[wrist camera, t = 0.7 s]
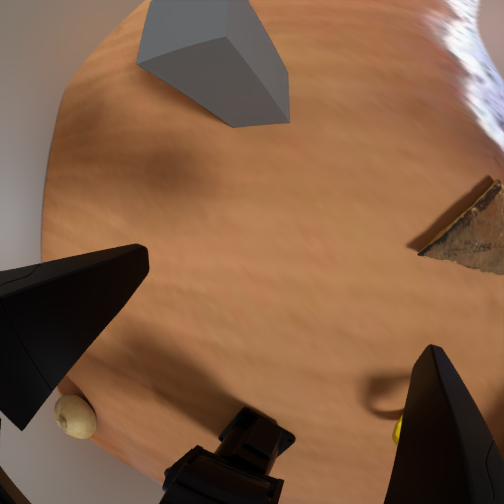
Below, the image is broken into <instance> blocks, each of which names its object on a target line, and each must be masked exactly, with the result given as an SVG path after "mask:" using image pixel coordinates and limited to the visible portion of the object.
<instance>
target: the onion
mask: <svg viewBox="0 0 504 504" xmlns="http://www.w3.org/2000/svg"><path fill="white" fill-rule="evenodd" d="M54 412H55V419H56V422H57V424H58V425H59V426H60V427H61V429H62V430H63V431H64V432H66V433H67V434H68V435H70V436H72V437H75V438H78V439H86V438H88V437H90V436H92V435H93V434H94V433H95V431H96V427H97V420H96V415H95V413H94V411H93V410H92V409H91V407H90V406H89V405H88V403H86V402H85V401H84V400H83V399H82V398H81V397H79V396H77V395H65V396H62V397H61V398H59V399H58V401H57V402H56V404H55V408H54Z"/></svg>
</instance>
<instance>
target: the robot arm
mask: <svg viewBox="0 0 504 504" xmlns="http://www.w3.org/2000/svg"><path fill="white" fill-rule="evenodd" d="M148 273H149V257H148V250H147V248H146V247H145V246H142V245H140V244H130V245H125V246H120V247H115V248H110V249H105V250H100V251H95V252H91V253H86V254H81V255H76V256H72V257H67V258H62V259H58V260H53V261H49V262H44V263H42V264H41V263H39V264H35V265H31V266H26V267H21V268H16V269H11V270H5V271H0V411H1V412H2V413H3V414H4V415H5V416H6V417H7V418H8V419H9V420H10V421H11V422H12V423H14V425H15V426H17V427H18V428H19V429H20V430H21V431H23V430H24V429H25V428H26V426H27V424H28V423H29V422H30V421H31V419H32V418H33V417H34V415H35V414H36V413H37V411H38V410H39V409H40V407H41V406H42V404H43V403H44V402H45V401H46V399H47V398H48V397H49V396H50V394H51V393H52V391H53V390H54V389H55V388H56V386H57V385H58V384H59V383H60V381H61V380H62V379H63V378H64V376H65V375H66V374H67V373H68V371H69V370H70V369H71V368H72V366H73V365H74V364H75V363H76V362H77V360H78V359H79V358H80V357H81V356H82V354H83V353H84V352H85V351H86V350H87V348H88V347H89V346H90V345H91V344H92V343H93V341H94V340H95V339H96V338H97V337H98V336H99V334H100V333H101V332H102V331H103V330H104V329H105V327H106V326H107V325H108V324H109V323H110V322H111V321H112V319H113V318H114V317H115V316H116V315H117V314H118V313H119V312H120V310H121V309H122V308H123V307H124V306H125V304H126V303H127V302H128V300H129V299H130V298H131V296H132V295H133V293H134V292H135V291H136V289H137V288H138V287H139V285H140V284H141V283H142V281H143V280H144V279H145V277H146V276H147V275H148ZM245 412H246V413H245ZM0 428H1V418H0ZM223 438H224V439H223ZM218 439H219V440H220V441H221V442H222V443H221V444H220V445H219V447H218V448H217V450H216V451H215V452H214V453H211V452H209V451H207V450H205V449H203V447H201V446H199V445H197V446H196V447H195V448H193V449H191V450H190V451H189V452H187V453H186V454H185V455H184V456H183V457H182V458H180V459H179V460H178V461H177V462H176V463H174V464H173V465H172V466H171V467H169V468H167V469H166V470H165V472H164V474H165V481H164V484H163V488H162V489H163V490H164V491H165V494H164V496H163V498H162V499H161V501H160V503H159V504H278V501H279V498H280V494H281V491H282V487H283V483H284V480H282V479H276V478H273V477H270V476H269V474H270V472H271V469H272V467H273V465H274V462H275V460H276V458H277V457H278V456H279V455H281V454H282V453H283V452H284V451H285V450H286V449H287V448H289V447H290V446H291V445H292V444H293V443H294V442H295V440H296V438H295V436H294V435H292V434H290V433H288V432H286V431H285V430H283V429H281V428H279V427H278V426H276V425H274V424H272V423H271V422H269V421H267V420H266V419H264V418H262V417H261V416H259V415H258V414H256V413H254V412H253V411H251V410H250V409H248V408H243V409H242V410H241V411H240V412H239V413H238V414H237V416H236V417H235V418H234V419H233V420H232V422H231V423H230V424H229V425H228V426H227V428H226V429H225V430H224V431H223V432H222V433H221V435H220V436H219V438H218ZM290 439H292V440H290ZM0 504H31V503H30V502H29V500H28V499H27V498H26V497H25V496H24V495H23V494H22V493H21V491H20V490H19V489H18V488H17V487H16V485H15V484H14V483H13V482H12V481H11V479H10V478H9V477H8V476H7V474H6V473H5V472H4V470H3V469H2V468H1V466H0ZM384 504H504V460H503V457H502V455H501V453H500V451H499V449H498V447H497V445H496V442H495V440H493V436H492V434H491V432H490V430H489V428H488V426H487V424H486V422H485V420H484V418H483V417H482V415H481V413H480V411H479V409H478V407H477V405H476V404H475V402H474V400H473V398H472V396H471V395H470V393H469V391H468V389H467V388H466V386H465V384H464V383H463V381H462V379H461V377H460V376H459V374H458V373H457V371H456V369H455V368H454V366H453V364H452V363H451V361H450V360H449V358H448V356H447V355H446V353H445V352H444V350H443V349H442V348H441V347H439V346H436V345H432V344H430V345H428V346H427V347H426V348H425V350H424V351H423V353H422V354H421V355H420V357H419V358H418V360H417V361H416V363H415V364H414V367H413V370H412V375H411V380H410V385H409V390H408V394H407V399H406V403H405V407H404V412H403V416H402V422H401V429H400V435H399V441H398V446H397V451H396V456H395V461H394V466H393V470H392V474H391V478H390V482H389V486H388V490H387V494H386V497H385V501H384Z"/></svg>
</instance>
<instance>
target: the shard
mask: <svg viewBox="0 0 504 504" xmlns="http://www.w3.org/2000/svg"><path fill="white" fill-rule="evenodd" d="M417 255H418V256H422V257H426V258H431V259H435V260H442V261H448V262H452V263H457V264H460V265H463V266H465V267H467V268H471V269H475V270H479V271H481V272H484V273H491V274H494V275H499V276H504V186H503V184H502V183H501V181H500V180H499V179H496V180H495V181H494V182H493V184H492V185H491V186H490V187H489V189H488V190H487V191H486V192H485V193H484V194H483V195H481V196H480V197H479V198H478V199H477V201H476V202H475V203H474V204H473V205H472V206H471V207H469V208H468V209H467V210H466V211H465V212H463V213H462V214H461V215H460V216H459V217H458V218H457V219H455V220H454V221H453V222H452V223H451V224H449V225H448V226H447V227H446V228H445V229H443V230H442V231H440V232H439V233H438V234H437V235H436V236H435V237H434V238H433V239H432V241H431V242H430V243H429V244H427V245H426V247H424V248H423V249H422V250H421V251H420V252H419V253H418V254H417Z"/></svg>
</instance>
